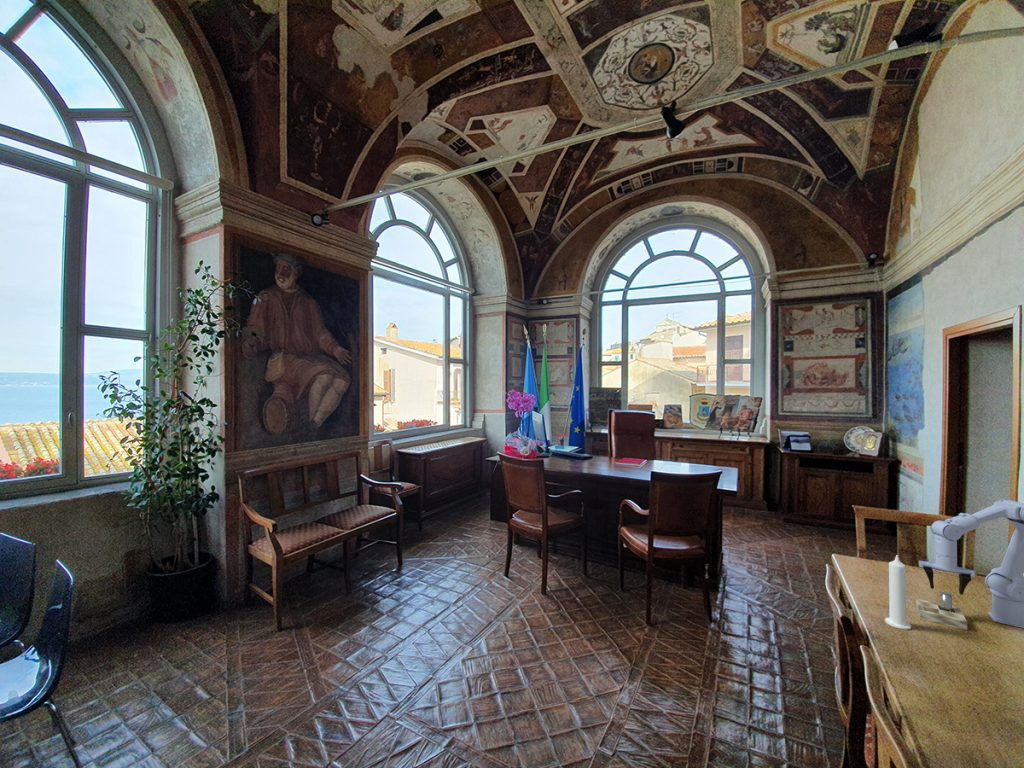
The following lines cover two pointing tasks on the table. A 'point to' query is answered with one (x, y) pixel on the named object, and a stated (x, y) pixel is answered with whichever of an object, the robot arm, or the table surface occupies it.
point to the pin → (946, 601)
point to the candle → (897, 595)
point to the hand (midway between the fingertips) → (946, 590)
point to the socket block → (940, 614)
